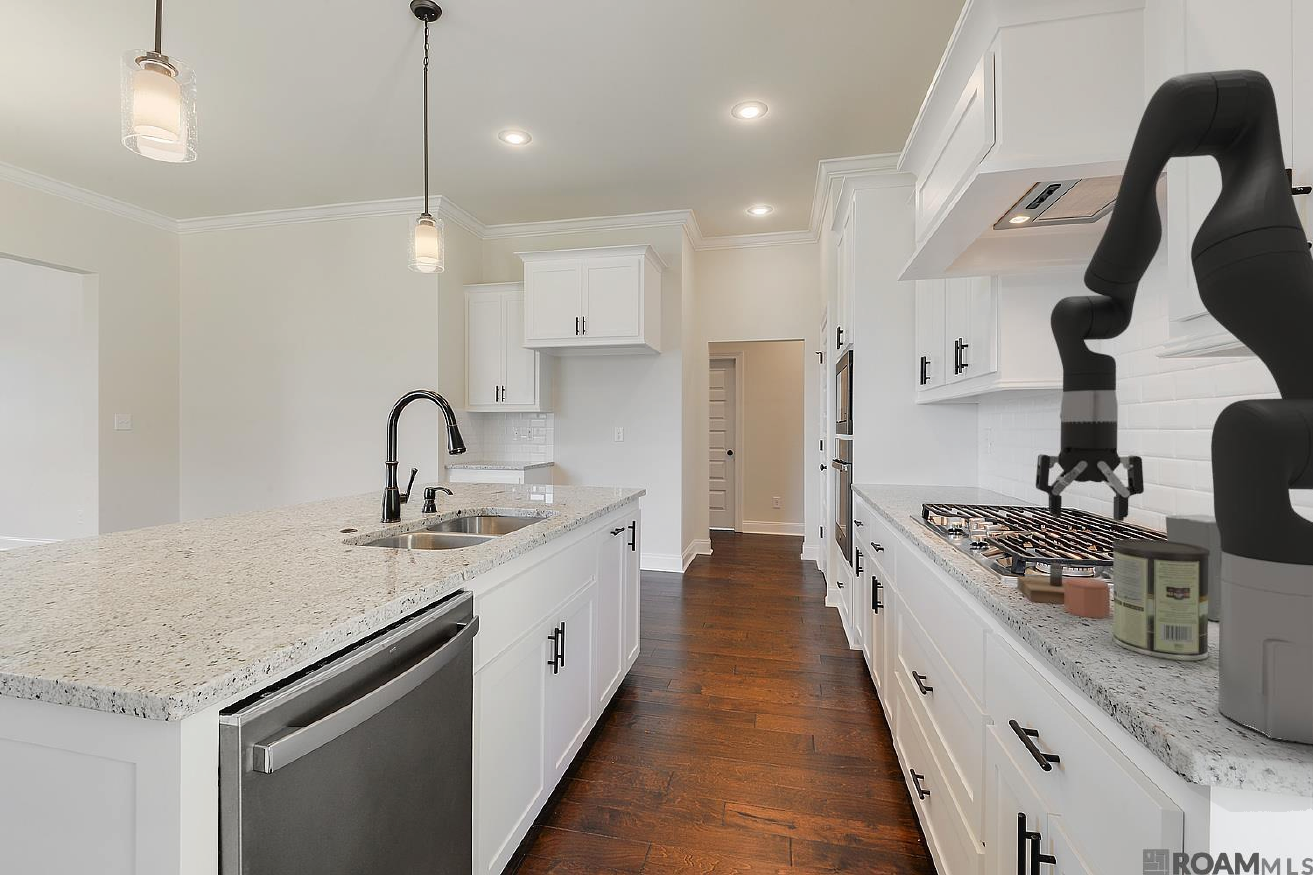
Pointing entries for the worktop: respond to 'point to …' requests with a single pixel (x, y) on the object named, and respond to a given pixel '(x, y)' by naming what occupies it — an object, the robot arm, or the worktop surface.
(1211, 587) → the skincare box
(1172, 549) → the coffee can
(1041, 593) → the peg block
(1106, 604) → the cap
